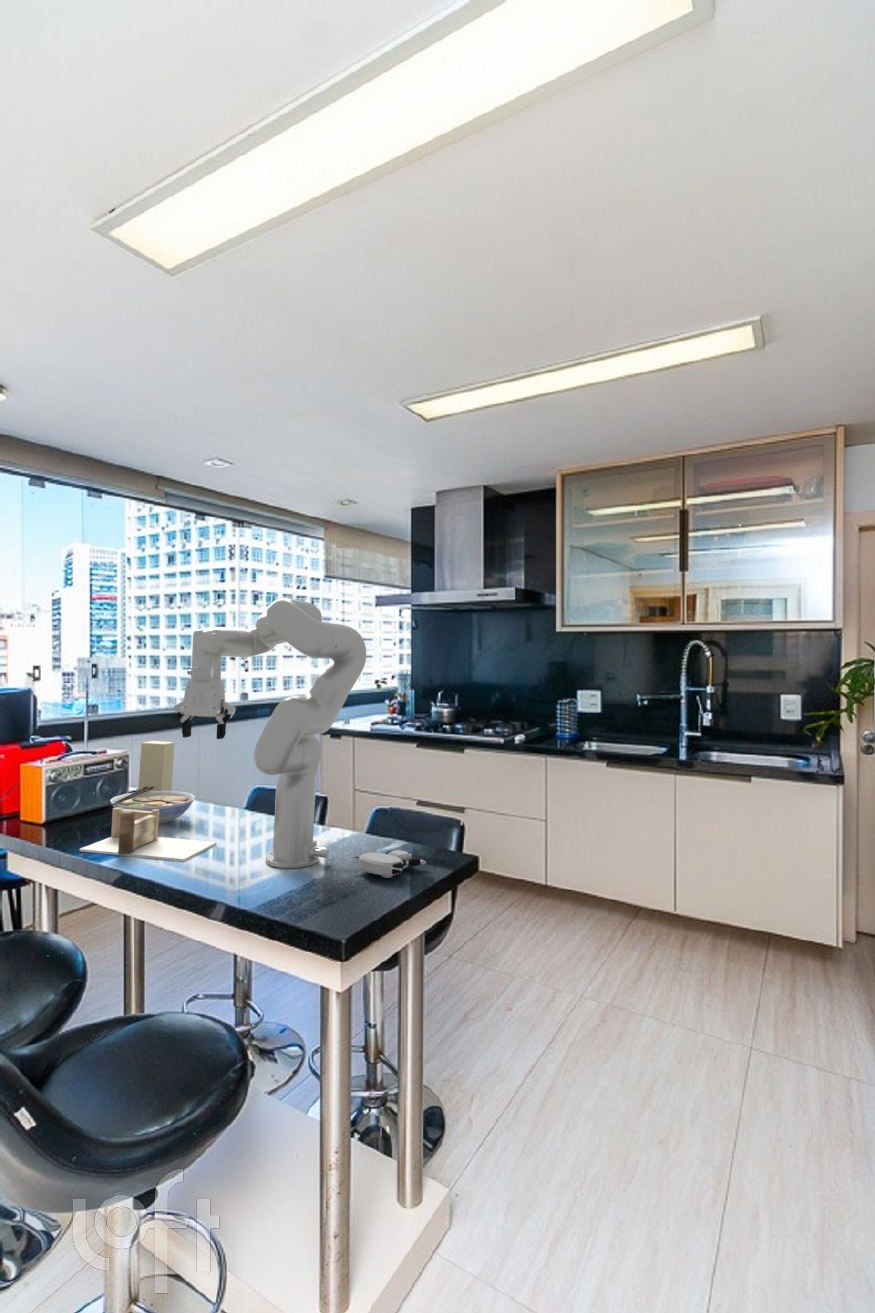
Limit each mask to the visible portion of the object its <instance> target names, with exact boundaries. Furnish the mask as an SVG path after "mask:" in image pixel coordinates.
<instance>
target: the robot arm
mask: <svg viewBox="0 0 875 1313" xmlns="http://www.w3.org/2000/svg"><path fill="white" fill-rule="evenodd" d="M284 643H287V644H289V645H290V646H291V647H292V648H294V649H295V650H297V651H298V652H300V653H302V654H303V655H304V656H307V657H309V658H312V659H327V660H331V662H330V663H329V664H327V666H325V667H324V669H323V670H322V671H321V672H320V673H319V674H318V676H317V677H316V680H315V681H314V683H313V685H312V687H311V688H310V689H309V691H308V692H307V693H306V694H303V695H302V694H301V695H291V696H288V697H286V698H284V699H283V700H281V701H280V702H279V703H278V704H277V705H276V706H275V708H274V709H273V711H272V713H271V715H270V717H269V719H268V721H267V723H266V725H265V727H264V728H263V731H262V732H261V735H260V736H259V738H258V740H257V743H256V745H255V748H254V752H253V753H254V754H253V758H254V763H255V765H256V768H257V769H258V770H259V771H260V772H261V773H262V774H265V775H268V776H269V775H270V776H277V775H279V777H278V779H277V783H276V789H275V797H274V798H275V800H274V801H275V802H274V804H275V805H274V821H273V822H274V823H273V824H274V825H273V842H272V844H273V846H272V852H270V853H267V855H266V857H265V863H267V865H269V866H271V867H275V868H279V869H280V868H281V869H297V868H299V869H300V868H306V867H310V866H313V865H315V864H316V863H317V862H319V860H320V859H319V858H323V859H324V858H325V859H327V858H328V857H329V849H328V848H327V847H325V846H324V847H323V846H321V847H319V846H318V845H317V843H318V842H317V840H314V829H315V828H314V826H315V824H314V823H315V803H316V789H317V779H318V778H317V777H318V772H319V767H320V762H321V758H322V746H321V742H320V741H319V739H318V737H316V736H315V735H320V734H321V735H322V734H324V733H326V732H327V731H329V730H330V728H332V726H333V724H334V723H335V721H336V719H337V717H338V715H339V713H340V711H341V709H342V707H343V706H344V704H345V702H346V700H347V698H348V696H349V694H350V692H351V691H352V688H353V687H354V686H355V684H356V682H358V679H359V678H360V676H361V674H362V672H363V670H364V667H365V664H366V661H367V647H366V644H365V641H364V639H363V637H362V635H361V634H360V633H359V632H358V631H357V630H356V629H355V628H352V627H350V626H349V625H344V624H340V623H334V622H333V623H331V622H325V621H323V616H322V612H321V610H320V609H319V608H318V607H317V606H316V605H315V604H313V603H312V602H309V601H305V600H299V599H293V598H288V597H287V598H286V597H283V598H278V599H275V600H274V601H272V603H271V604H270V605H269V606H268V607H267V610H266V612H264V613H262V614H261V615H259V616H258V617H257V620H256V622H255V627H253V628H251V629H240V628H231V627H215V628H198V629H196V630H194V631H193V634H192V654H191V668H190V669H187V672H186V673H187V675H190V678H189V679H187V683H186V686H185V691H184V697H183V701H181V702H178V703H177V704H175V705H174V706H173V709H174V712H175V713H176V717H177V718H178V719H179V720H180V723H181V724H182V725H181V726H182V727H181V734H182V738H190V737H191V736H192V722H191V720H192V719H193V718H194V717H200V718H201V717H202V718H203V717H204V718H215V719H216V721H217V722H218V724H217V725H216V740H222V739H225V736H226V733H227V732H226V731H227V724H228V723H229V721H230V720H232V718H233V716H234V715H235V712H236V710H237V708H236V707H235V706H233V705H232V704H230V703H229V702H227V701H226V694H225V693H226V691H225V685H224V680H222V679H221V678H222V659H223V658H222V657H237V658H250V657H254V656H258V655H261V654H265V653H267V652H270V651H272V650H273V649H274V648H275V647H276V646H277V645H280V644H284ZM226 710H227V714H225V712H226Z"/></svg>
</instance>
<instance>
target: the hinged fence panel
mask: <svg viewBox="0 0 875 1313" xmlns="http://www.w3.org/2000/svg"><path fill="white" fill-rule="evenodd" d="M155 819H156V815H148V816H145V817H143V818H140V819H138V820H135V811H123V812H121V813H120V830H119V848H118V853H121V854H126V853H131V852H133V849H135V848H137V847H140V846H142V845H144V844H146V843H148V842H150V841H152V840H153V839H154V820H155Z"/></svg>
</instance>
